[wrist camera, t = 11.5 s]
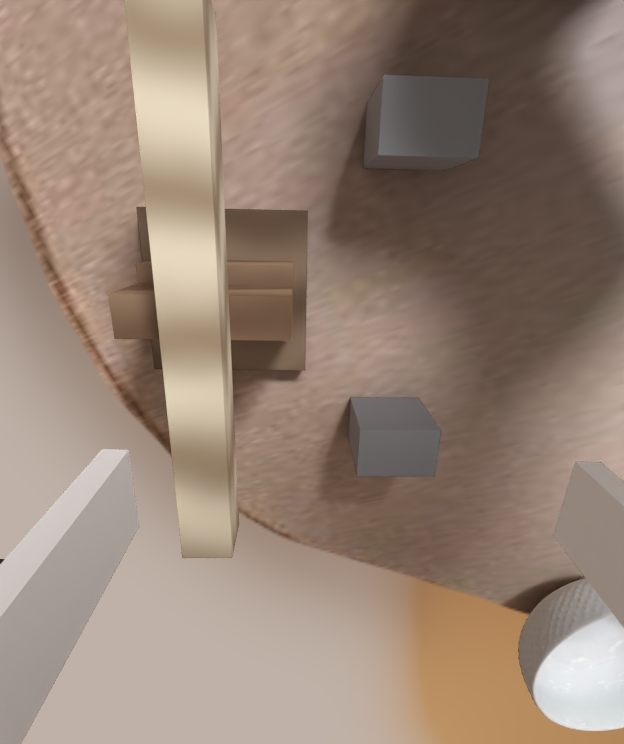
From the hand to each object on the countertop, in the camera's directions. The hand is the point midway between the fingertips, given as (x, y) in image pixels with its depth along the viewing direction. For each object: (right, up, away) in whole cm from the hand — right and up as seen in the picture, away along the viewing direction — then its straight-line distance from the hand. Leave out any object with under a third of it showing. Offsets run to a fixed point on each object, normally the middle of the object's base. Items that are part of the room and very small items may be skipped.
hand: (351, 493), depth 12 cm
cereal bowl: (+28, -22, +33) cm, 49 cm away
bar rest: (+5, +10, +21) cm, 24 cm away
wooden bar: (-7, +7, +11) cm, 15 cm away
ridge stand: (-8, +10, +20) cm, 24 cm away
